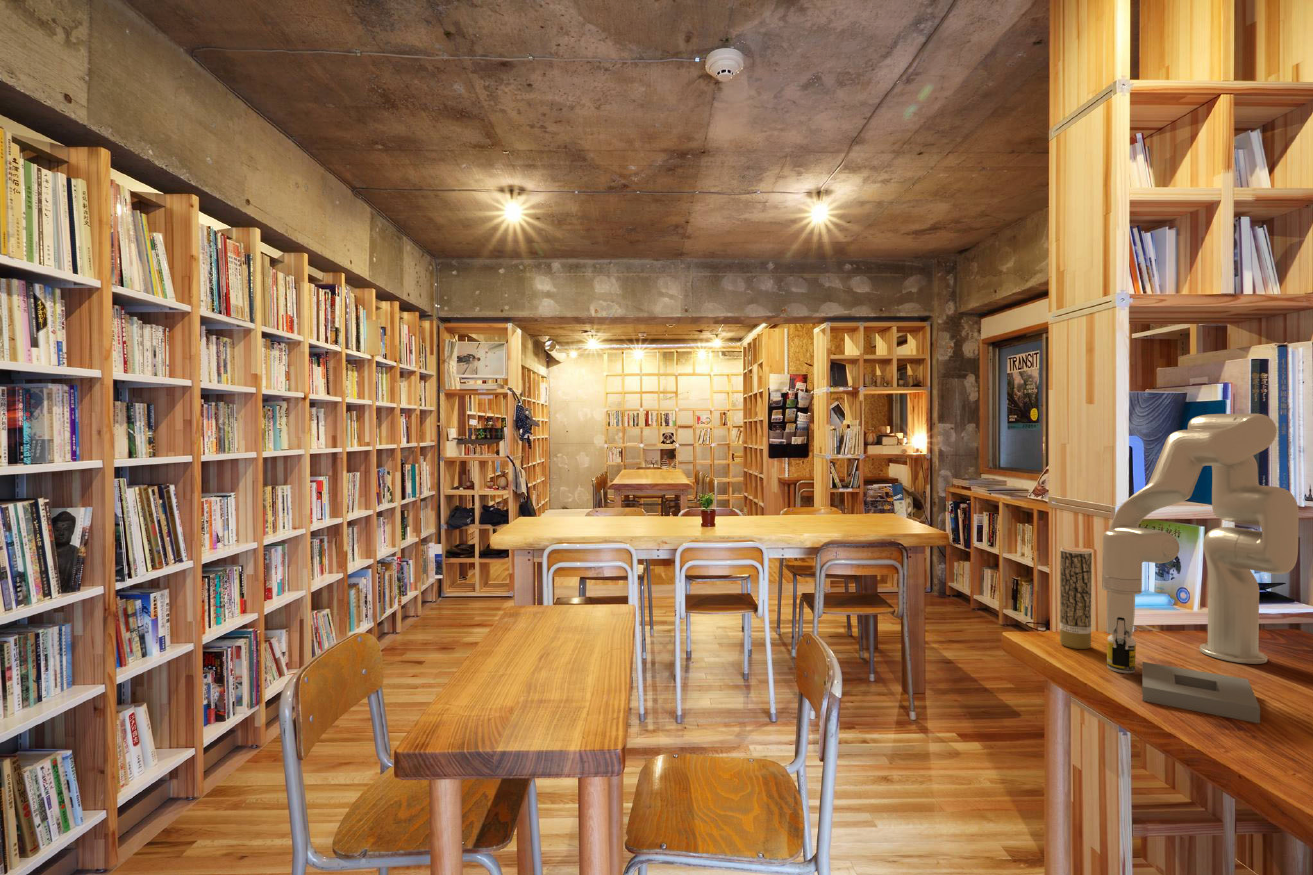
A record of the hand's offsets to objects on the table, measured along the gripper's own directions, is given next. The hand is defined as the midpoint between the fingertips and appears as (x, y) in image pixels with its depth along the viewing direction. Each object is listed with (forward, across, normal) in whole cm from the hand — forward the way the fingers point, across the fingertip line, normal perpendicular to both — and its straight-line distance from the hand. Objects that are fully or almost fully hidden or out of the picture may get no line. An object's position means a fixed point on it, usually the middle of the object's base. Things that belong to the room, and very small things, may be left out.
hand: (1121, 660), depth 155 cm
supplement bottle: (+2, 0, 0) cm, 2 cm away
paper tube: (+2, -14, -10) cm, 17 cm away
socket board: (+2, +10, +13) cm, 17 cm away
